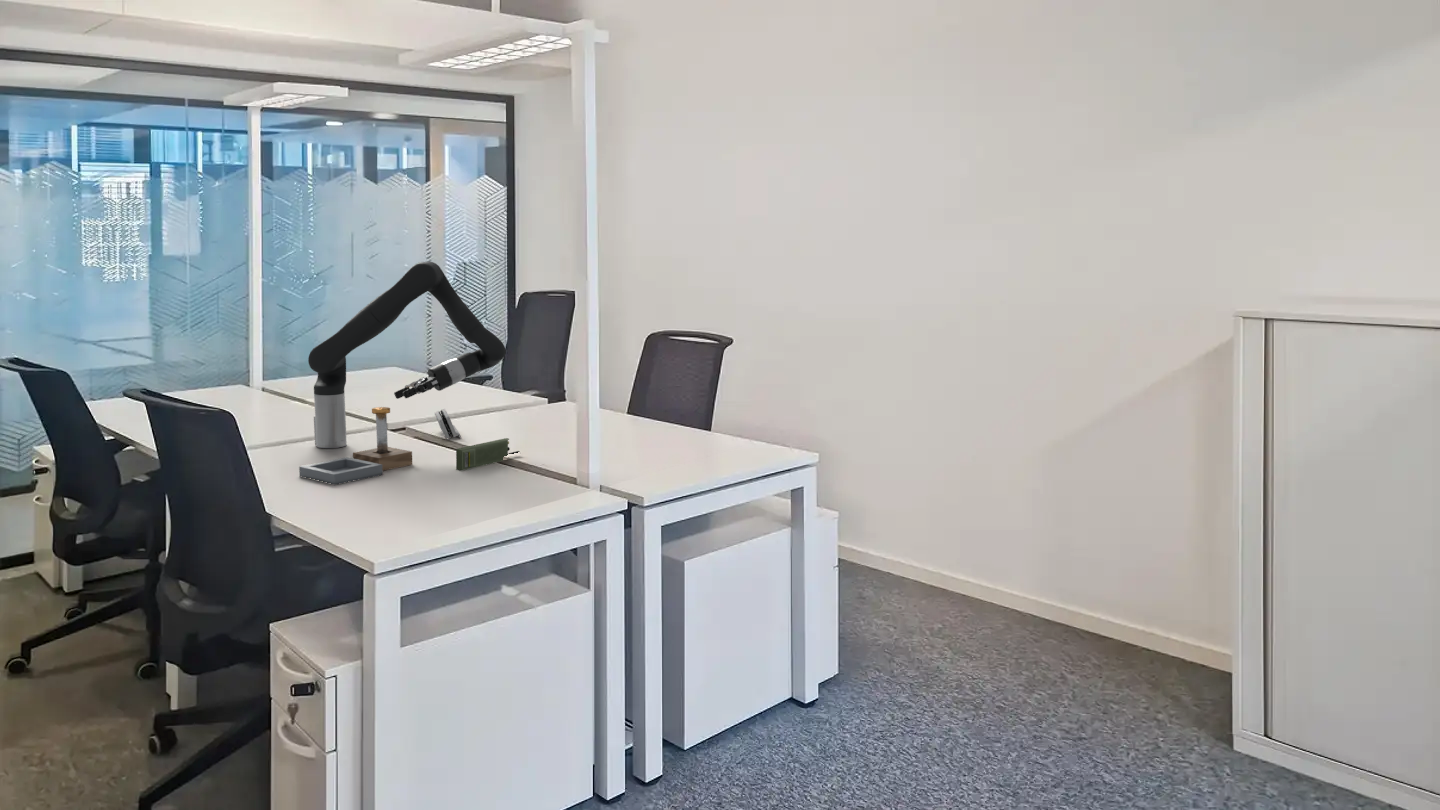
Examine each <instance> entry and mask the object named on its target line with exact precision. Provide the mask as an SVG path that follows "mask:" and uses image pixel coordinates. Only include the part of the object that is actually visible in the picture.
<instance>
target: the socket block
mask: <svg viewBox="0 0 1440 810" xmlns="http://www.w3.org/2000/svg"><path fill="white" fill-rule="evenodd" d="M352 458H353V459H358V460H363V461H368V462H373V463H377V464H382V472H384V471H388V470H389V471H390V470H393V469H398V468H402V467H406V466H407V467H408V466H413V451H410V450H405V449H403V448H402V449H401V448H396V447H391V446H388V453H385V454H377V447H375V448H371V449H367V450H366V449H365V450H361V451H355V452H352Z"/></svg>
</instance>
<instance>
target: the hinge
mask: <svg viewBox="0 0 1440 810" xmlns="http://www.w3.org/2000/svg"><path fill="white" fill-rule="evenodd" d="M434 415H435V417H436V421H437V423H438V425H439V429H440V430H442V431H441V432H442V434H443V436H444V435H445V436H444V437H445V439H446V438H450V439H451V438H452V437H453V438H455V437H458V438H460V437H461V438H462V435H461V433H460V432H459V430H458V429H457V427H456V426H455V425H454V424H453V422H452V420H451V417H450V415H449V413H448V411H447V410H446V408H443V409H441V410H440V411H439V410H437V411H435V412H434ZM458 435H459V436H458Z"/></svg>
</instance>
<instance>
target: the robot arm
mask: <svg viewBox="0 0 1440 810" xmlns="http://www.w3.org/2000/svg"><path fill="white" fill-rule="evenodd" d="M427 292H428V293H429V294H430V295H432V297H434V298H435V299H436V300H437V301H438V302H439V303H440V305H441V306H442V308H443V310H444V311H445V312H446V314H447V316H448V318H449V319H450V321H451V323H452V324H453V325H454V327H455V329H457V330H458V332H459V333H460V335H461V336H463V338H464V339H465V340H466V341H467V342H468V343H470V344H475V345H476V346H477V347H478V348H479V349H477V350H475V351H472V352H466V353H463V354H461V355H458V356H456V357H454V358H450V359H447V360H446V361H443V362H441V363H439V364H436V365H434V366H432V367H430V368H428V370H427V375H428V376H425V377H424V376H423V377H421V378H419V379H417V380H415V381H412V382H411V383H409V384H406V385H405V386H404V387H403V388H400V389H398V390H397V391H394V393H393V395H394V397H395V399H401V398H403V397H404V399H409V398H411V397H413V396H415V395H417V394H424V393H426V392H427V391H430V390H432V389H435V390H436V391H439V392H440V391H442V390H444V389H447V388H449V387H451V386H454V385H456V384H457V383H460V382H461V381H462V380H465V379H466V378H468V377H470V376H473V375H475V374H476V373H479V372H482V371H485V370H488V369H491V368H493V367H494V366H497V365H498V364H499V363H500V362H501V361H502V360H503V359H504V358H505V357H506V354H507V352H506V351H507V349H506V346H505V345H504V343H503V342H502V340H501V339H500V338H499V337H497V336H496V335H495V334H494V333H493V332H492V331H490V330H489V329H488V328H486V327H485V326H484V324H483V323H482V322H481V321H480V319H479V318H478V317H477V316H476V315H475V314H474V313H473V312H472V311H471V309H470V307H468V305H466V303H465V302H464V301H463V300H462V298H461V297H460V296H459V294H458V293H457V292H456V290H455V289H454V287H453V286H452V284H451V283H450V281H449V279H448V278H447V276H446V275H445V273H444V272H443V270H442V268H441V267H440V265H438V264H437V263H435V262H433V261H426V260H425V261H421V262H418V263H415V264H414V265H412V266H411V267H410V268H409V269H408V271H406V273H405V274H404V275H402V277H401V278H400V279H399V280H398V281H396V283H394V285H393V286H391V287H390V288H389V289H387V290H385V291H384V292H383V293H380V294H379V295H378V296H377V297H376V298H374V299H373V300H371V301H370V302H369V303H368V304H366V305H365V306H364V307H363V308H361V309H360V311H358V312H357V313H356V314H355V315H354V316H352V318H351V319H350V320H349V321H347V322H346V323H345V324H344V325H343V326H342V327H340V329H339V330H338V331H337V332H335V333H334V334H333V335H332V336H330V337H329V338H327V339H326V340H324V341H322V342H321V343H320V344H317V345H316V346H315V347H314V348H312V350H310V353H309V355H308V358H307V359H308V365H309V368H310V369H311V370H312V371H314V372H315V373H317V378H316V382H315V383H314V385H313V398H314V399H313V401H314V403H313V404H314V416H313V429H314V430H313V432H314V433H313V434H314V445H315V446H316V448H320V449H339V448H342V447H346V446H347V443H348V442H347V421H346V419H347V416H346V399H345V398H346V396H345V387H346V384H347V356H348V355H349V354H350V353H351V352H353V351H354V350H355V349H357V348H359V347H360V346H362V345H364V344H366V343H367V342H369V341H371V340H372V339H375V337H377V336H378V335H380V334H381V333H382V332H384V331H385V330H386V329H387V328H388V327H390V326H391V325H392V324H393V323H395V321H396V320H397V319H398V318H399V316H400V315H401V314H402V312H403V311H405V309H406V308H407V306H409V305H410V304H411V303H412V302H413V301H415V300H416V299H418V298H419V297H421V296H422V295H424V294H426V293H427Z"/></svg>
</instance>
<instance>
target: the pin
mask: <svg viewBox="0 0 1440 810" xmlns="http://www.w3.org/2000/svg"><path fill="white" fill-rule="evenodd" d="M371 414H373V415H374V414H375V423H376V424H375V425H376V427H375V428H376V448H377V454H385V453H388V447H389V445H388V422H387V421H388V420H387V419H388V416H387V414H391V408H390V407H388V406H378V407H377V406H376V407H372V408H371Z"/></svg>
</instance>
